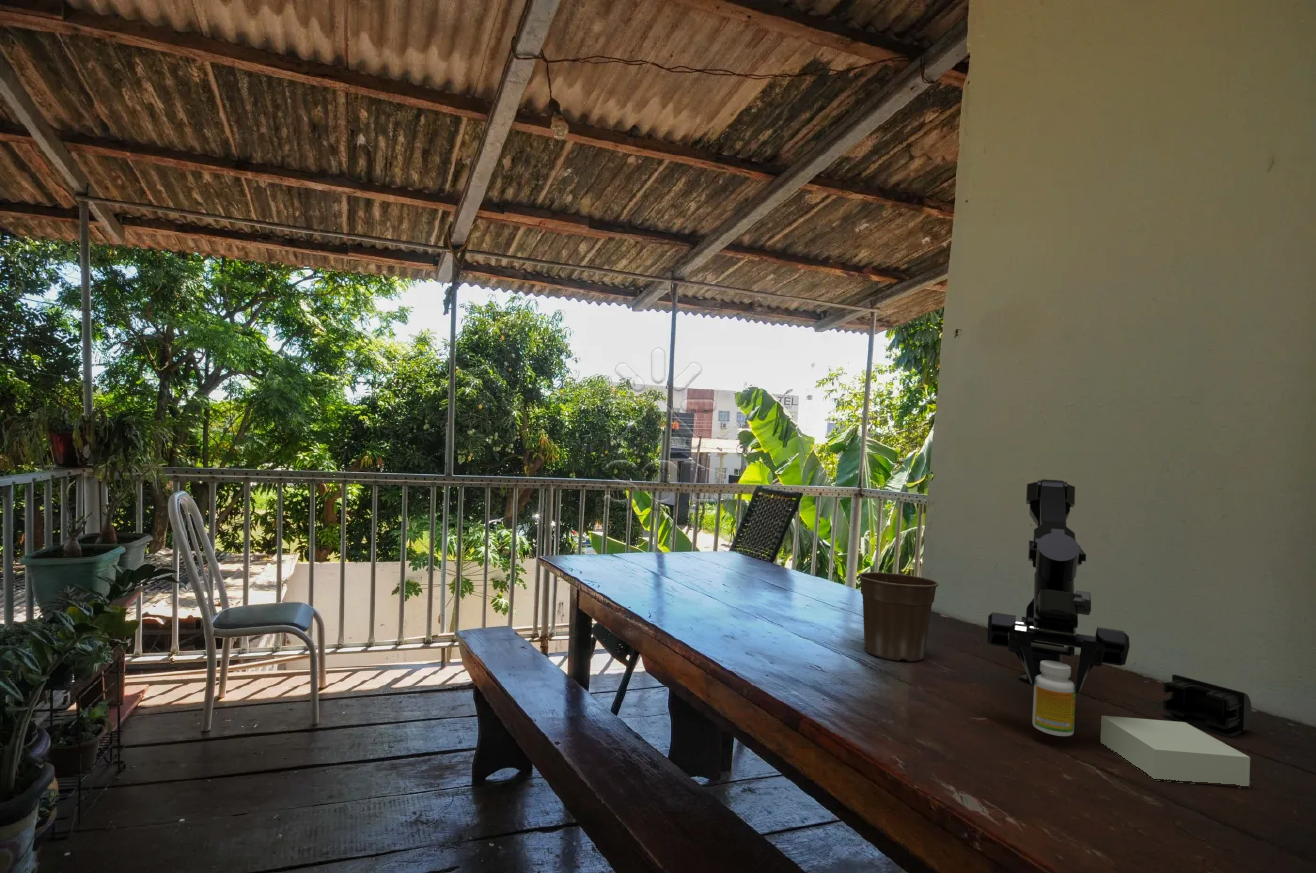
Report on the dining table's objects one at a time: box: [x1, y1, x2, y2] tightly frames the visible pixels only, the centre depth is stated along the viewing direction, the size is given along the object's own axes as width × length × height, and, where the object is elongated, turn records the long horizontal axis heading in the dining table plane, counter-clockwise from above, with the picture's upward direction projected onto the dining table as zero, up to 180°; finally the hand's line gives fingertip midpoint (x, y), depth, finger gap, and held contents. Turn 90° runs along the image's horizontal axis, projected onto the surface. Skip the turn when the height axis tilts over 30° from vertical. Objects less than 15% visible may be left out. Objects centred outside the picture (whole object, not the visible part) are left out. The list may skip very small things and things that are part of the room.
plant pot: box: [857, 571, 939, 662], centre depth 145 cm, size 16×16×16 cm
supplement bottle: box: [1031, 660, 1077, 737], centre depth 102 cm, size 5×5×10 cm
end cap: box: [1162, 674, 1252, 739], centre depth 113 cm, size 10×7×7 cm
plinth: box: [1100, 715, 1251, 787], centre depth 96 cm, size 12×12×4 cm
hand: (1055, 687), depth 100 cm, fingers closed on supplement bottle, 5 cm apart
